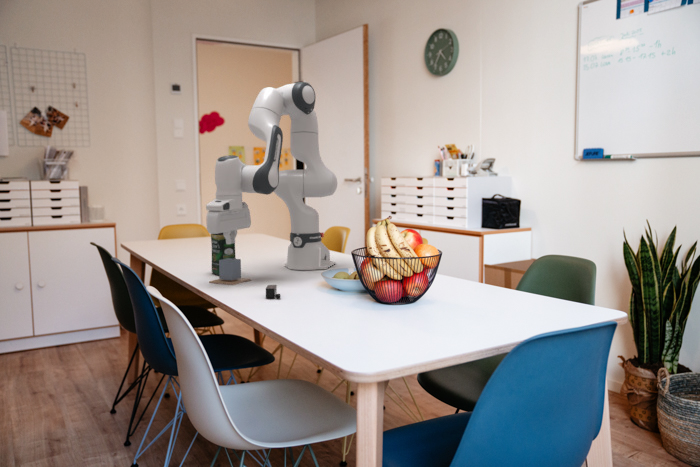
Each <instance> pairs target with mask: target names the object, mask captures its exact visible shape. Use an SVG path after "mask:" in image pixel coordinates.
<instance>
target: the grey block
mask: <svg viewBox="0 0 700 467" xmlns="http://www.w3.org/2000/svg"><path fill="white" fill-rule="evenodd" d="M241 262H242V260H241V258H236V259H231V258H228V259H223V260H219V275H218V277H219V278H218V279H222V280H235V279H239V278H242V263H241Z"/></svg>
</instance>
